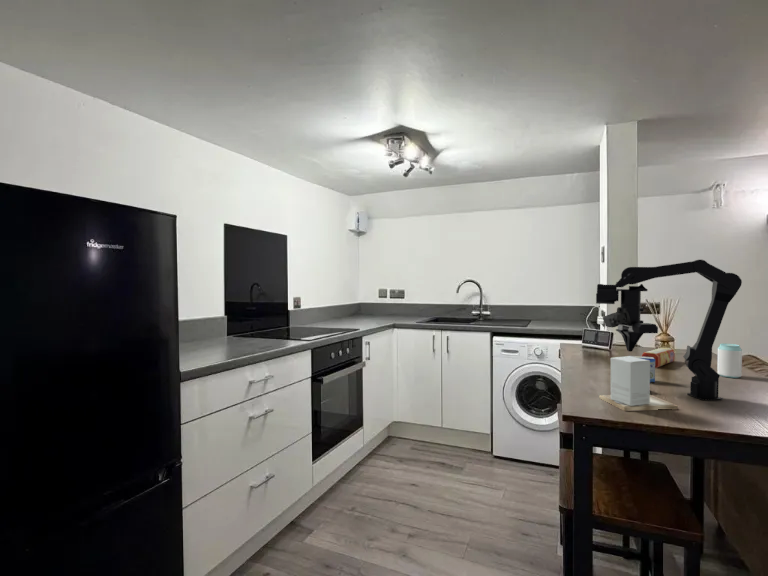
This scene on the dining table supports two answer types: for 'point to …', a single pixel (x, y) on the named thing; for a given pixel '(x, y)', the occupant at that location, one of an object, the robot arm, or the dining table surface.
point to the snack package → (661, 356)
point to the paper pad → (653, 405)
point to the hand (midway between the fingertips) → (629, 351)
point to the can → (729, 361)
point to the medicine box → (652, 366)
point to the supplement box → (630, 380)
